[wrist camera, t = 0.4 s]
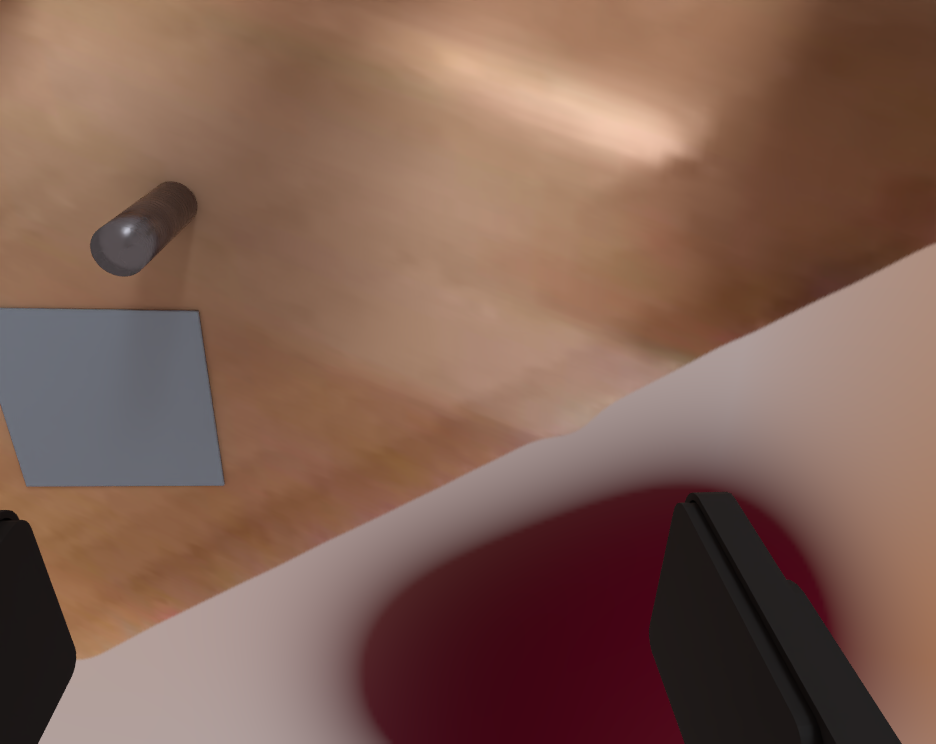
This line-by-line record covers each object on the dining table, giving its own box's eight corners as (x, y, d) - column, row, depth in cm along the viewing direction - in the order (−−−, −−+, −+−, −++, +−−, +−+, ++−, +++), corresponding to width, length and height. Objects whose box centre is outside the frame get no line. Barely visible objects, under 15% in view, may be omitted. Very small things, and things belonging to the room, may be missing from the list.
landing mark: (-29, 307, 44) (-30, 308, 44) (198, 310, 45) (197, 312, 45) (27, 484, 51) (26, 486, 50) (224, 483, 52) (223, 485, 52)
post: (148, 181, 41) (85, 224, 33) (193, 182, 41) (141, 225, 33) (156, 224, 42) (96, 275, 34) (199, 225, 42) (150, 277, 35)
